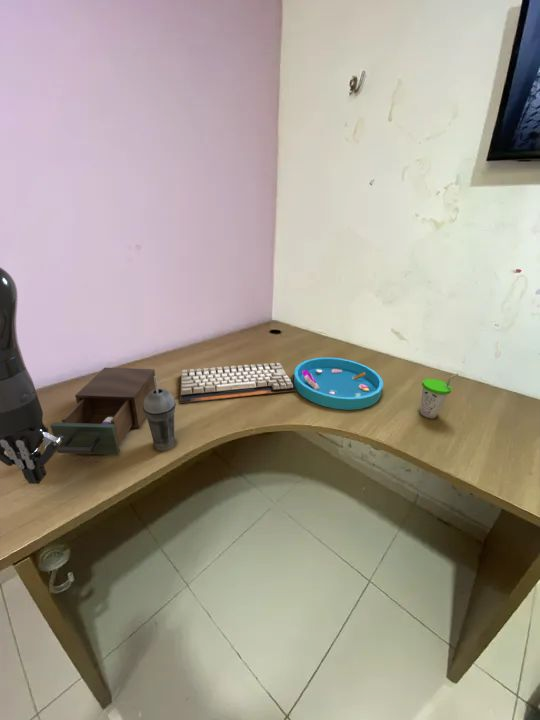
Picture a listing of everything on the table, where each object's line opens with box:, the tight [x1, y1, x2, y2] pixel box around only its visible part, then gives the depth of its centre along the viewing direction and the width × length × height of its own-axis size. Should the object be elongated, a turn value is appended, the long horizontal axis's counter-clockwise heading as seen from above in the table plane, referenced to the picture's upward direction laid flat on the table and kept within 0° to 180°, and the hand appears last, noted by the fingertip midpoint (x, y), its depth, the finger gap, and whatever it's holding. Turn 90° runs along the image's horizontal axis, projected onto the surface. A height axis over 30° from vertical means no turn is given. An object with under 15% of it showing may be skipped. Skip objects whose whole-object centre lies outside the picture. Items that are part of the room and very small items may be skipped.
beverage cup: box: [143, 375, 177, 452], centre depth 73 cm, size 7×7×20 cm
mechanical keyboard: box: [179, 362, 296, 405], centre depth 106 cm, size 38×19×3 cm, turn 105°
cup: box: [419, 373, 459, 419], centre depth 91 cm, size 8×8×15 cm
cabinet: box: [74, 367, 156, 429], centre depth 88 cm, size 16×15×10 cm
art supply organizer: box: [293, 357, 384, 411], centre depth 107 cm, size 30×30×6 cm
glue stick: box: [102, 417, 113, 424], centre depth 76 cm, size 8×3×3 cm
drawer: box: [50, 398, 135, 456], centre depth 75 cm, size 19×14×8 cm
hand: (37, 480), depth 56 cm, fingers closed
